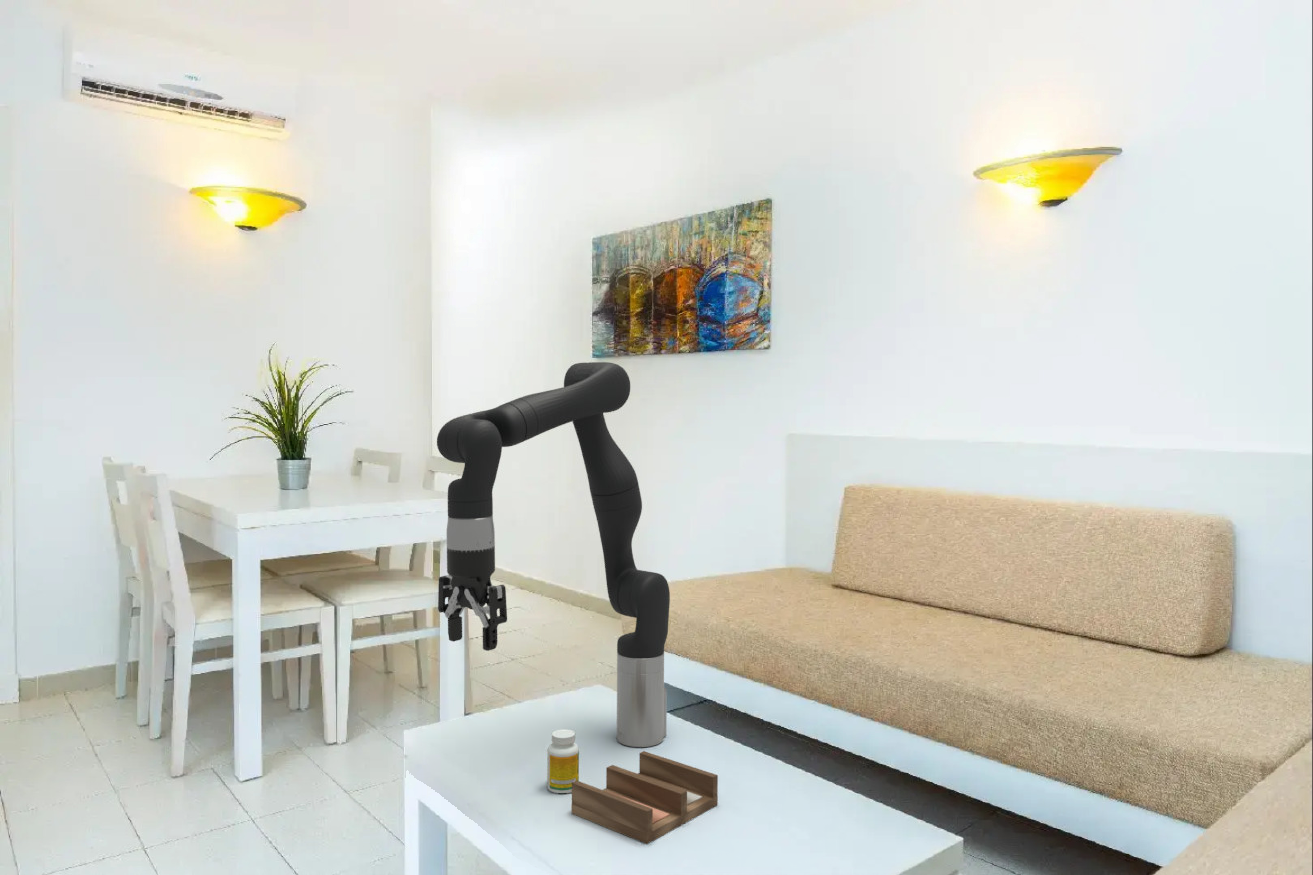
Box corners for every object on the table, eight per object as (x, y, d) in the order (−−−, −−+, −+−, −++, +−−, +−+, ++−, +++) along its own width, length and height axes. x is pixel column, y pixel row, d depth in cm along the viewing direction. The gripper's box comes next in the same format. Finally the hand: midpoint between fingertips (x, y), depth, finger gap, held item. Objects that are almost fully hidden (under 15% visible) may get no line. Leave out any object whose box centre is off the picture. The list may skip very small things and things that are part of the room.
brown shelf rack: (643, 778, 166) (644, 751, 166) (717, 804, 156) (717, 775, 155) (571, 813, 152) (571, 782, 152) (646, 844, 142) (647, 811, 142)
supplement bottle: (543, 785, 163) (543, 730, 162) (572, 779, 165) (572, 725, 165) (553, 797, 158) (553, 740, 158) (583, 791, 160) (583, 736, 160)
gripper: (518, 546, 148) (519, 647, 149) (461, 536, 157) (462, 632, 158) (481, 552, 142) (482, 658, 143) (423, 542, 151) (425, 642, 152)
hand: (472, 644), depth 151 cm, fingers open, 8 cm apart
